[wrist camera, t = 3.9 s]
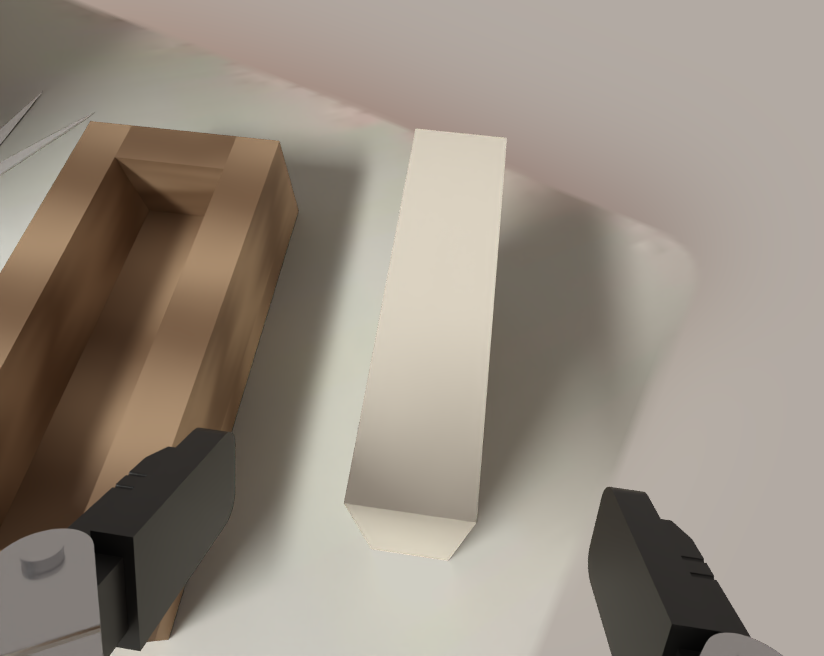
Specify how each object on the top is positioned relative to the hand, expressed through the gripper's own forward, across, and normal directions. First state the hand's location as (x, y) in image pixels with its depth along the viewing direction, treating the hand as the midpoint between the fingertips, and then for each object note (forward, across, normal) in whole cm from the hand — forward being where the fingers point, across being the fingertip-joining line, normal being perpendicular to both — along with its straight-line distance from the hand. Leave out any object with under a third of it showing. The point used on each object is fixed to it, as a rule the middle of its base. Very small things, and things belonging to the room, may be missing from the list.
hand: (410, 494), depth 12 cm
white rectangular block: (+12, 0, +4) cm, 12 cm away
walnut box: (+12, +13, +3) cm, 17 cm away
